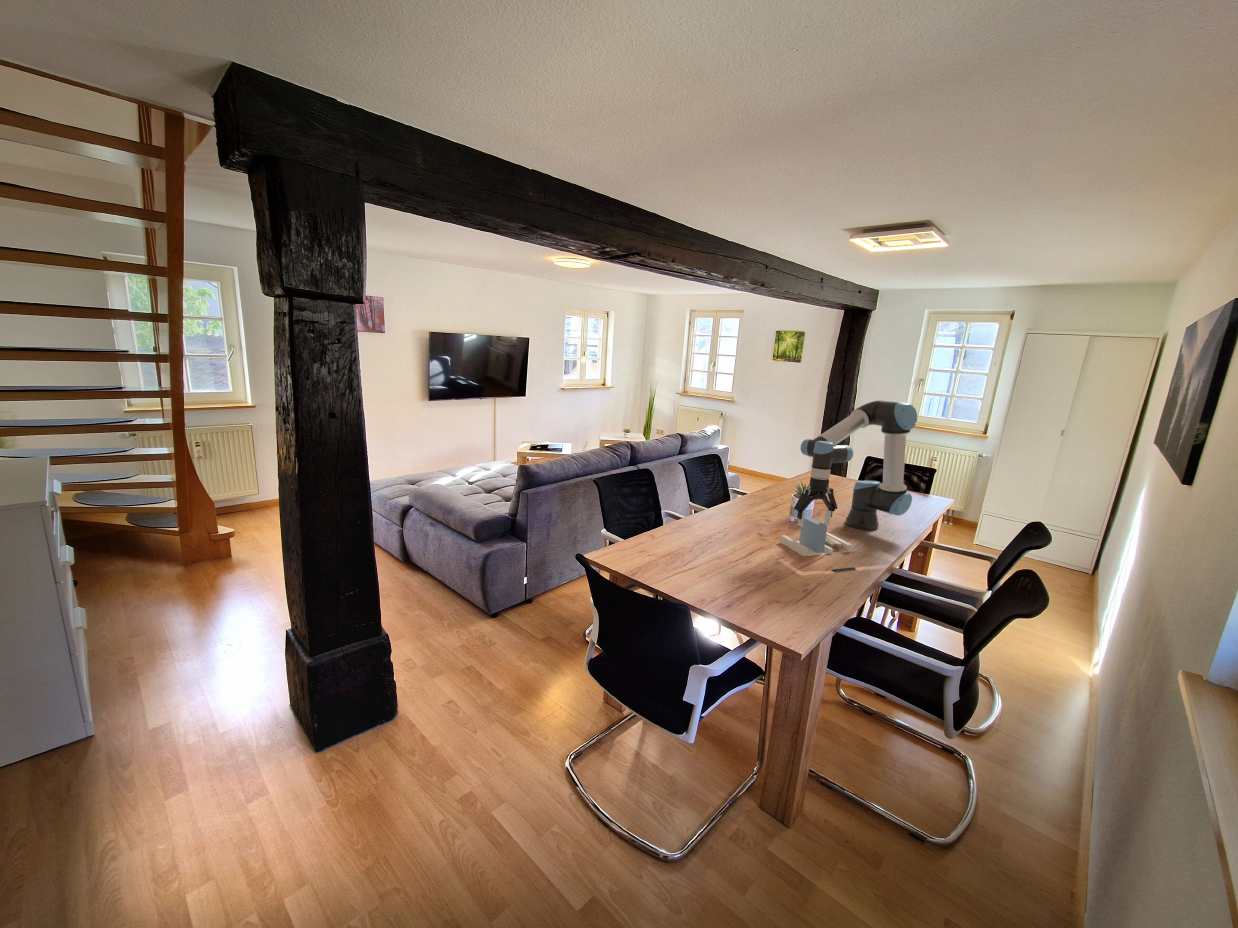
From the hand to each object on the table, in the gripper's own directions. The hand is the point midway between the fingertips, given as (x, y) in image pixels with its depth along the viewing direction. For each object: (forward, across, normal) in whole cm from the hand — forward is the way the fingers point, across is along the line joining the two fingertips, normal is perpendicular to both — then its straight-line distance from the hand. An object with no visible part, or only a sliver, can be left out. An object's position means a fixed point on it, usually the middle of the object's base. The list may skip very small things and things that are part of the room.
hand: (813, 525), depth 211 cm
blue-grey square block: (+10, 0, 0) cm, 10 cm away
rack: (+11, -2, 0) cm, 12 cm away
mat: (+11, +1, +15) cm, 19 cm away
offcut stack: (+10, -9, 0) cm, 13 cm away
